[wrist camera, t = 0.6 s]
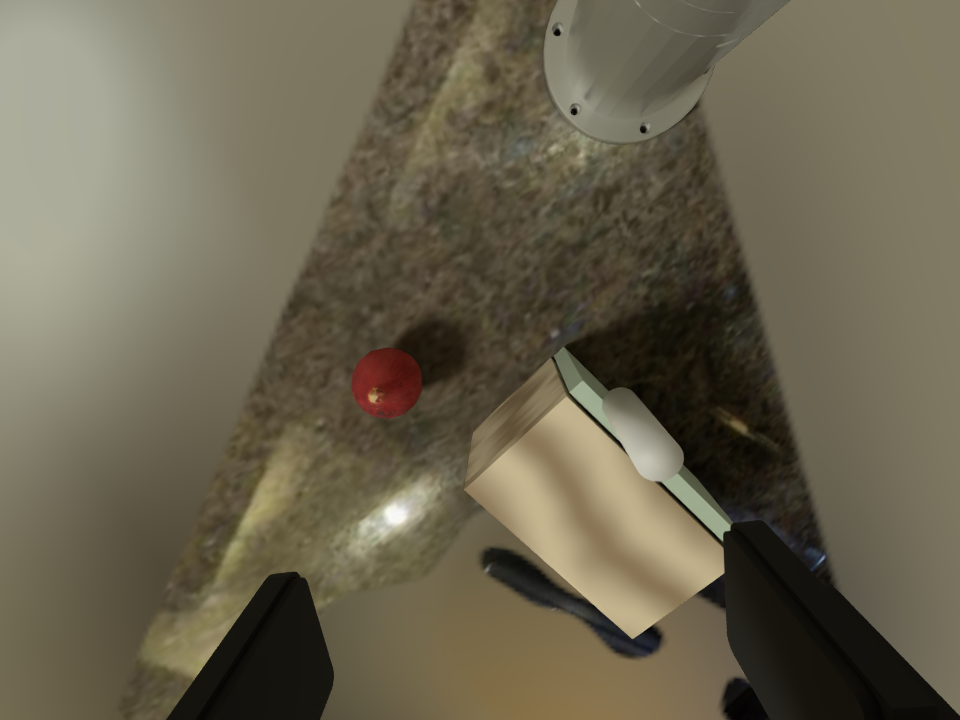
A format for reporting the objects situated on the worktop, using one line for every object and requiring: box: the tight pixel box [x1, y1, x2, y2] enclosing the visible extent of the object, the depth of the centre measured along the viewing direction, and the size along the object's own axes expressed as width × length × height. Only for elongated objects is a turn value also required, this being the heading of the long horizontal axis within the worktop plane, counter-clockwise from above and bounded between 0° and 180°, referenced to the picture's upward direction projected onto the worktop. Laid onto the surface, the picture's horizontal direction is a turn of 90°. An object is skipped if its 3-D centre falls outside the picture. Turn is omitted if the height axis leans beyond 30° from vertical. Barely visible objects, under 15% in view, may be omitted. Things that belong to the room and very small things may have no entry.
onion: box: [351, 348, 422, 419], centre depth 38 cm, size 6×6×8 cm
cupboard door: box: [554, 347, 733, 541], centre depth 32 cm, size 3×18×18 cm, turn 46°
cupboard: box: [464, 358, 724, 639], centre depth 38 cm, size 10×18×10 cm, turn 46°
